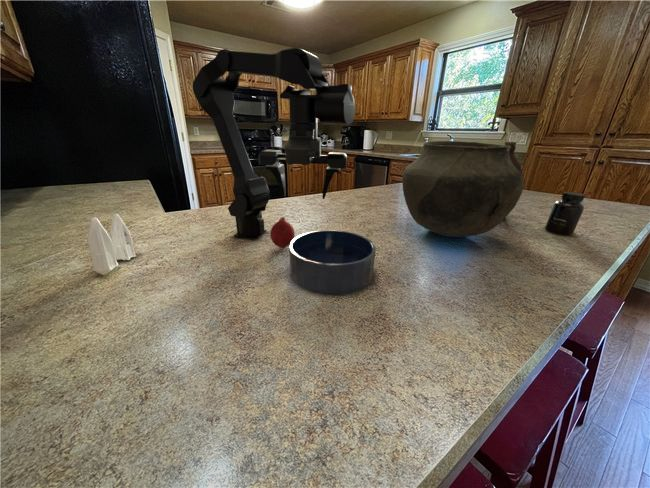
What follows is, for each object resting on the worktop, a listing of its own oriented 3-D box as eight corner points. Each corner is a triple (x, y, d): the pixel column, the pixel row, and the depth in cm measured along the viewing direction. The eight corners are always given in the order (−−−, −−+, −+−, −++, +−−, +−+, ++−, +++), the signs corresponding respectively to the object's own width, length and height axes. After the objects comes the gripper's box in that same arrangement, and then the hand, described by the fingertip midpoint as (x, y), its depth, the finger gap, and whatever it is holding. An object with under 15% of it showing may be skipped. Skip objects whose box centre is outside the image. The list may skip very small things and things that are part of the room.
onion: (290, 254, 63) (289, 222, 60) (267, 251, 64) (265, 220, 61) (297, 244, 68) (297, 214, 65) (276, 242, 69) (274, 212, 66)
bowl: (277, 286, 50) (275, 258, 48) (304, 249, 66) (304, 226, 63) (369, 301, 47) (372, 270, 44) (375, 258, 62) (377, 234, 60)
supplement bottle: (548, 233, 80) (563, 194, 75) (541, 226, 86) (555, 189, 81) (577, 237, 78) (594, 197, 73) (567, 230, 84) (583, 192, 79)
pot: (489, 267, 59) (525, 148, 49) (376, 228, 81) (386, 140, 71) (527, 237, 77) (559, 145, 67) (426, 212, 99) (439, 139, 89)
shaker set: (112, 279, 51) (93, 225, 47) (87, 280, 51) (66, 225, 46) (141, 252, 62) (128, 206, 58) (121, 253, 61) (107, 206, 57)
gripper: (245, 121, 49) (252, 204, 55) (348, 124, 48) (343, 209, 54) (264, 122, 59) (268, 192, 65) (348, 125, 58) (344, 196, 64)
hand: (303, 197), depth 62 cm, fingers open, 9 cm apart
